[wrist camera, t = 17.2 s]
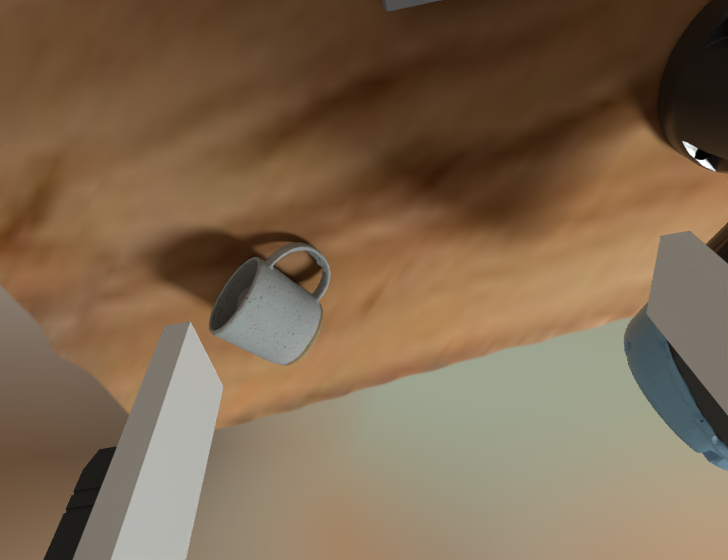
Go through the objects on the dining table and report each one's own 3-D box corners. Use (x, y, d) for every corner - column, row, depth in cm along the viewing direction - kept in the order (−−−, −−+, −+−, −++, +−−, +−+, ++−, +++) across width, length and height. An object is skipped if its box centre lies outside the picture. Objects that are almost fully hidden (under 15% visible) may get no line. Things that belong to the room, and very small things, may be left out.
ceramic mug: (283, 333, 52) (278, 389, 46) (214, 293, 49) (199, 347, 43) (350, 266, 48) (356, 317, 42) (280, 217, 45) (274, 265, 39)
